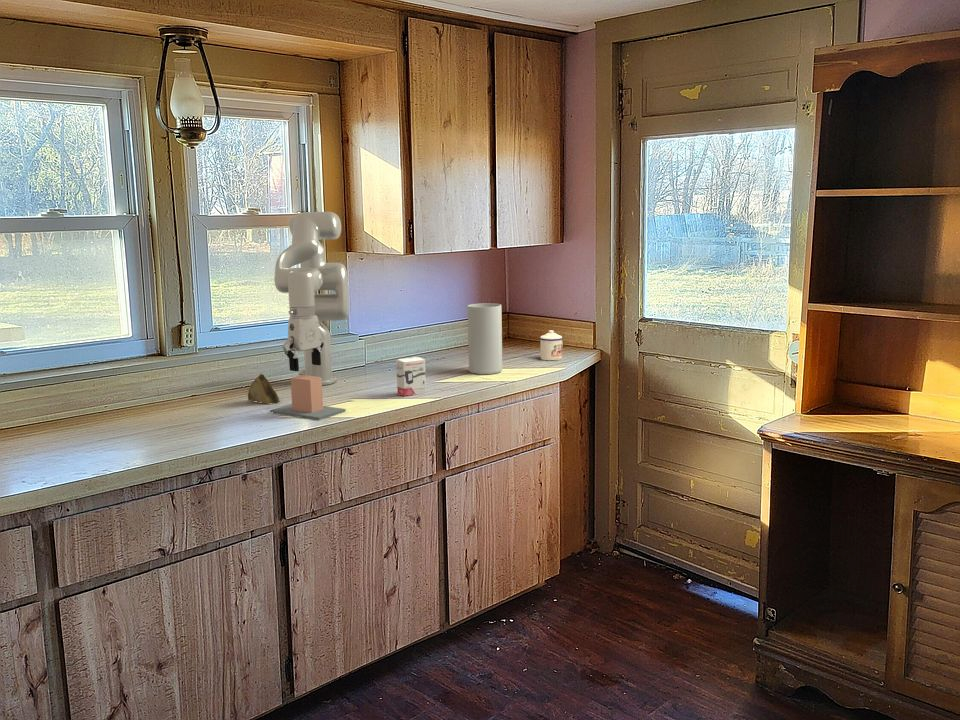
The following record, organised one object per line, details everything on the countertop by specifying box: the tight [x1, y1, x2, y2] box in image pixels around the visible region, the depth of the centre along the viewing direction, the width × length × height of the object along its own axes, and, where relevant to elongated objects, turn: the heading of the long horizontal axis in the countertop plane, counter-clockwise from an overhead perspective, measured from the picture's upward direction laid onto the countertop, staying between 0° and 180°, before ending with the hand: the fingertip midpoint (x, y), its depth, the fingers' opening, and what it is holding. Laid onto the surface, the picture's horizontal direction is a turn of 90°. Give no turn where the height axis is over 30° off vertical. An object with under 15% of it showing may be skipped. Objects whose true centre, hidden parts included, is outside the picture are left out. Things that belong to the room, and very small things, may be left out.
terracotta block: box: [290, 375, 324, 413], centre depth 264 cm, size 5×8×10 cm, turn 58°
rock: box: [247, 373, 281, 405], centre depth 280 cm, size 11×9×10 cm
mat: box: [269, 403, 347, 421], centre depth 265 cm, size 20×12×1 cm, turn 58°
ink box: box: [395, 356, 427, 397], centre depth 287 cm, size 8×5×12 cm, turn 123°
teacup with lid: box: [539, 329, 564, 361], centre depth 348 cm, size 12×9×12 cm
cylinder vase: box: [467, 302, 503, 375], centre depth 322 cm, size 12×12×25 cm
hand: (305, 367), depth 263 cm, fingers open, 9 cm apart
